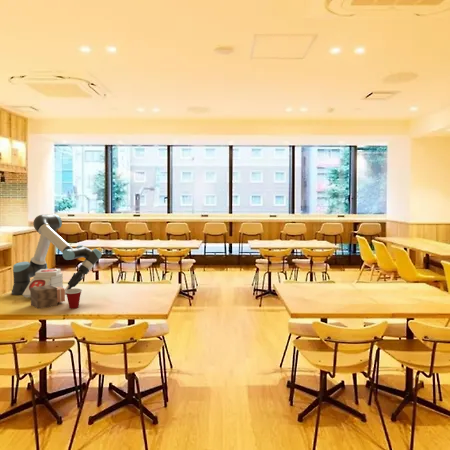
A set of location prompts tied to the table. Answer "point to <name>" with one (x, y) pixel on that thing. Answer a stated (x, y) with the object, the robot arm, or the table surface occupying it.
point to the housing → (43, 296)
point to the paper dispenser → (45, 280)
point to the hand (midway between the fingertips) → (64, 293)
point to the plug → (60, 294)
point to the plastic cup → (73, 297)
